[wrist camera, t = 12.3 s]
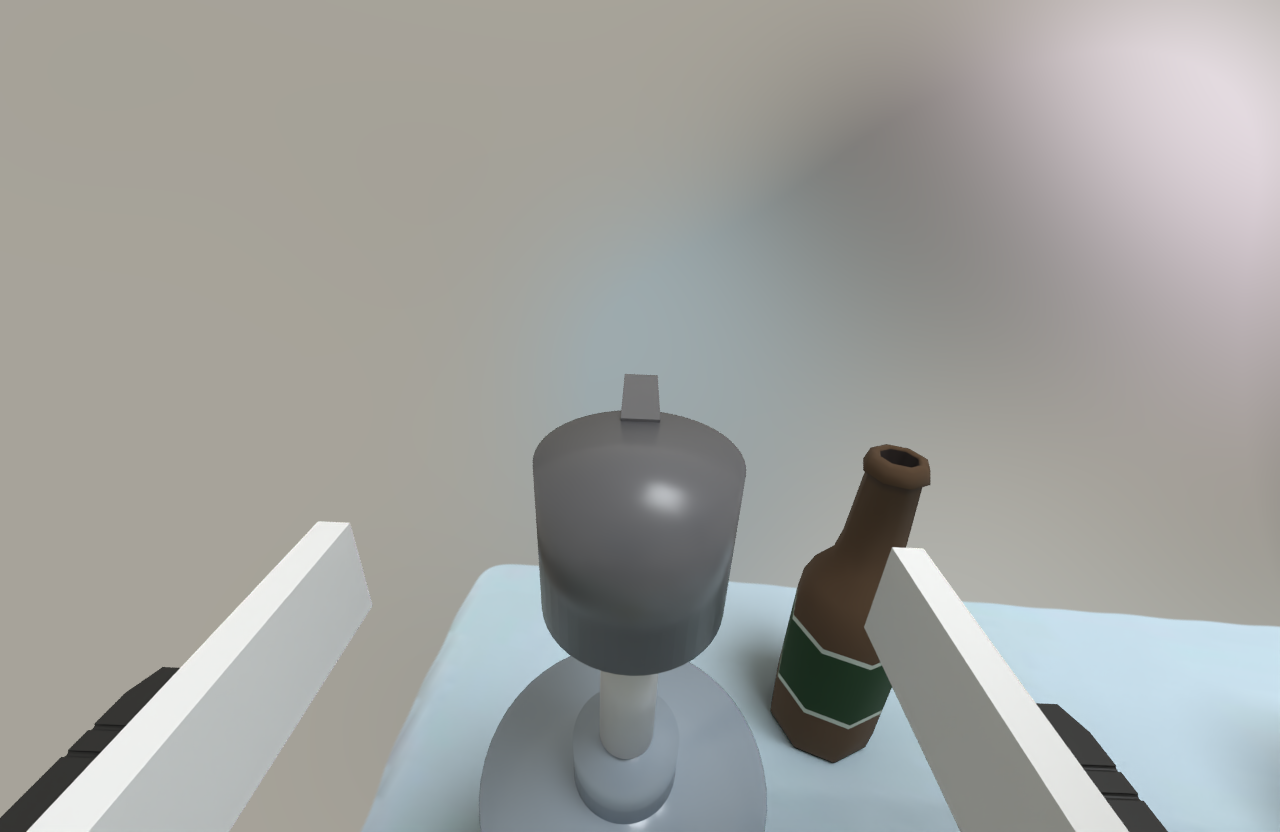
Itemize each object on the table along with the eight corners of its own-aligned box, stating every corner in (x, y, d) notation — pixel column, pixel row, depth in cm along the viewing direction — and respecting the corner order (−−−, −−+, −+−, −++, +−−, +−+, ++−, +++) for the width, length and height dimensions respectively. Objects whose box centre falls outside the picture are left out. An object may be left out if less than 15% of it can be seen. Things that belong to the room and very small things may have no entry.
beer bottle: (748, 712, 39) (806, 452, 29) (796, 653, 44) (861, 413, 34) (842, 791, 35) (955, 515, 24) (884, 715, 40) (993, 458, 29)
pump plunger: (636, 603, 24) (649, 369, 19) (743, 756, 18) (808, 475, 13) (512, 654, 21) (484, 397, 16) (588, 856, 15) (586, 550, 10)
